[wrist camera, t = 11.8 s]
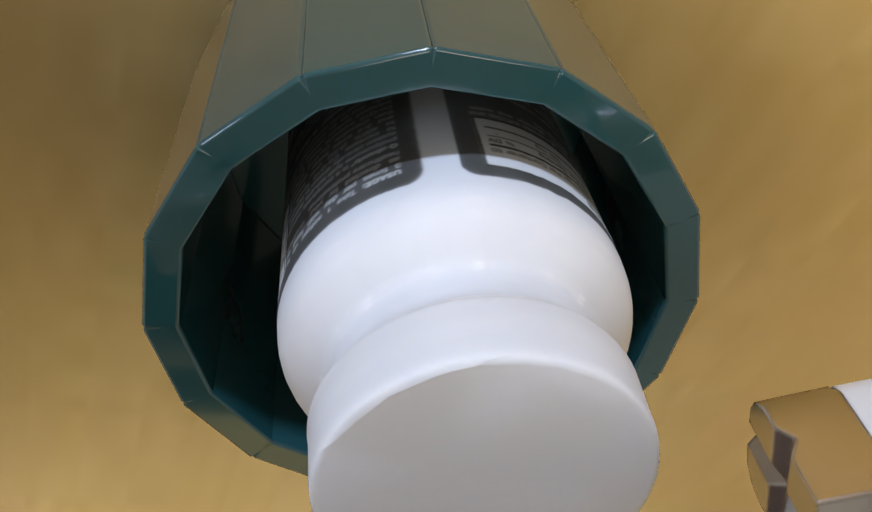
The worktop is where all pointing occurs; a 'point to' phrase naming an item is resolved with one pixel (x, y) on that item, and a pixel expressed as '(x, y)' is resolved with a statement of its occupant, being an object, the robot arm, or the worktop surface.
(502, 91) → the holder
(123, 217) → the worktop surface
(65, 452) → the worktop surface
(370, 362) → the pill bottle
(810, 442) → the robot arm
